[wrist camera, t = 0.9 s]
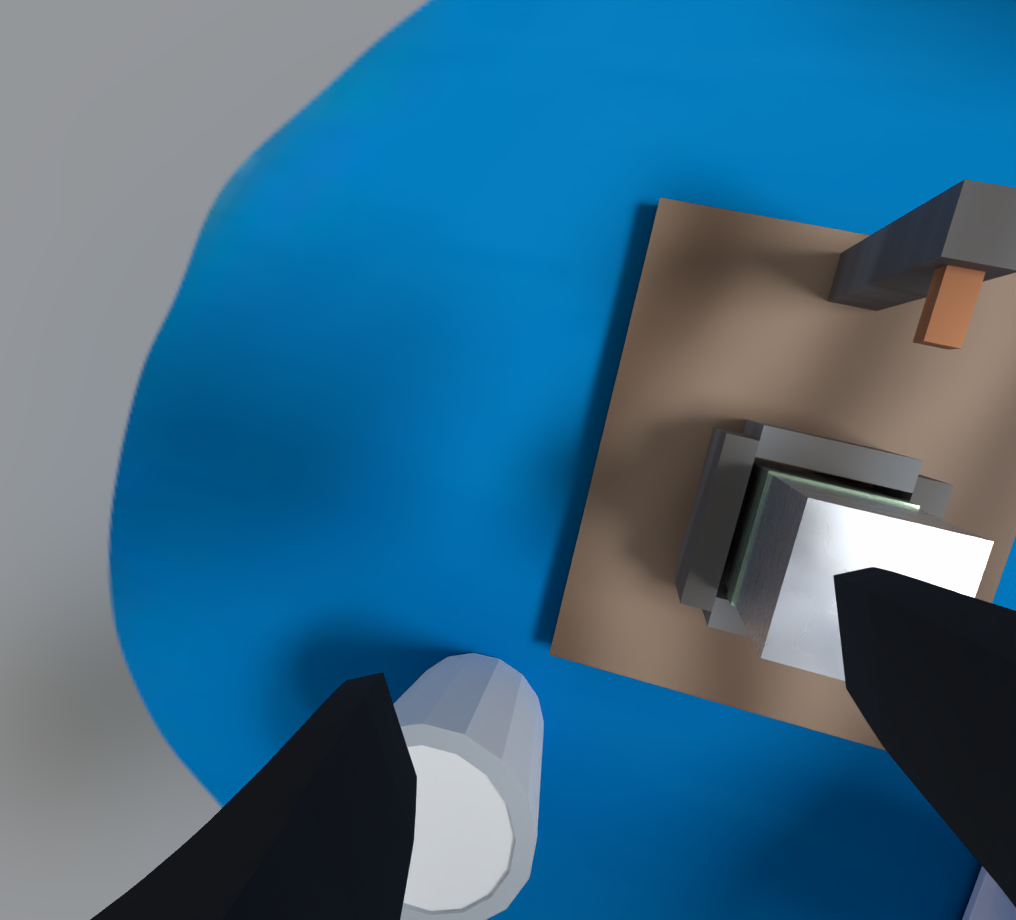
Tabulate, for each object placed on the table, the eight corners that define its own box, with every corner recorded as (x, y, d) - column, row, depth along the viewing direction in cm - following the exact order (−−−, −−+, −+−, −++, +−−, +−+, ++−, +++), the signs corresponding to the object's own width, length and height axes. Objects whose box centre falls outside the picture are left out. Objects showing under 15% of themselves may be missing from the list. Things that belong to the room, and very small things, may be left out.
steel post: (868, 484, 22) (998, 539, 15) (833, 598, 23) (939, 710, 15) (744, 455, 23) (805, 493, 15) (712, 567, 24) (756, 659, 16)
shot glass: (557, 641, 26) (533, 733, 19) (560, 803, 27) (538, 946, 20) (392, 634, 28) (315, 718, 21) (399, 790, 28) (327, 920, 21)
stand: (1083, 282, 22) (1406, 213, 13) (923, 749, 24) (1096, 965, 15) (658, 205, 24) (678, 97, 15) (551, 644, 26) (513, 780, 17)
